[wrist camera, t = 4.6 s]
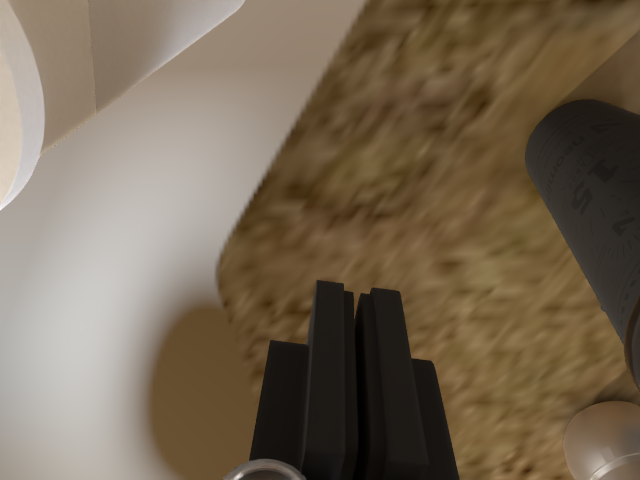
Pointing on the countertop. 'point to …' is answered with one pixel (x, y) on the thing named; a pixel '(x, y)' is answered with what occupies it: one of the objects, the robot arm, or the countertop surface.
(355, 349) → the robot arm
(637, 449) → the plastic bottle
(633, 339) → the drinking cup
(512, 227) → the countertop surface
